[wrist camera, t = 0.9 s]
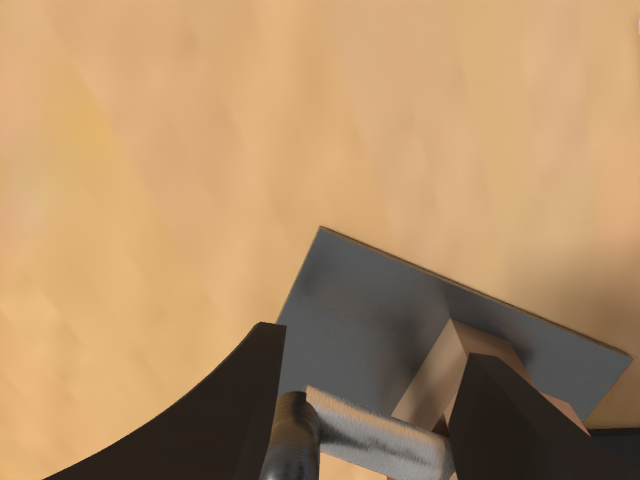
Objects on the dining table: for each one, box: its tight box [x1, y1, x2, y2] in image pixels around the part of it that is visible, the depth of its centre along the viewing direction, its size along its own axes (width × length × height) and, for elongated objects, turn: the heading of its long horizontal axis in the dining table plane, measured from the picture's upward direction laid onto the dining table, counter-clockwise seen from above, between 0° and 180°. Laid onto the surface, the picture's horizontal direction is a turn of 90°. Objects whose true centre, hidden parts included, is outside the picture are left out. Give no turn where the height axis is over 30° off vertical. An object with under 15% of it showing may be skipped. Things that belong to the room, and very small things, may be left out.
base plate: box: [276, 226, 633, 423], centre depth 23 cm, size 16×10×1 cm, turn 67°
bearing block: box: [387, 318, 539, 480], centre depth 19 cm, size 3×7×7 cm, turn 157°
